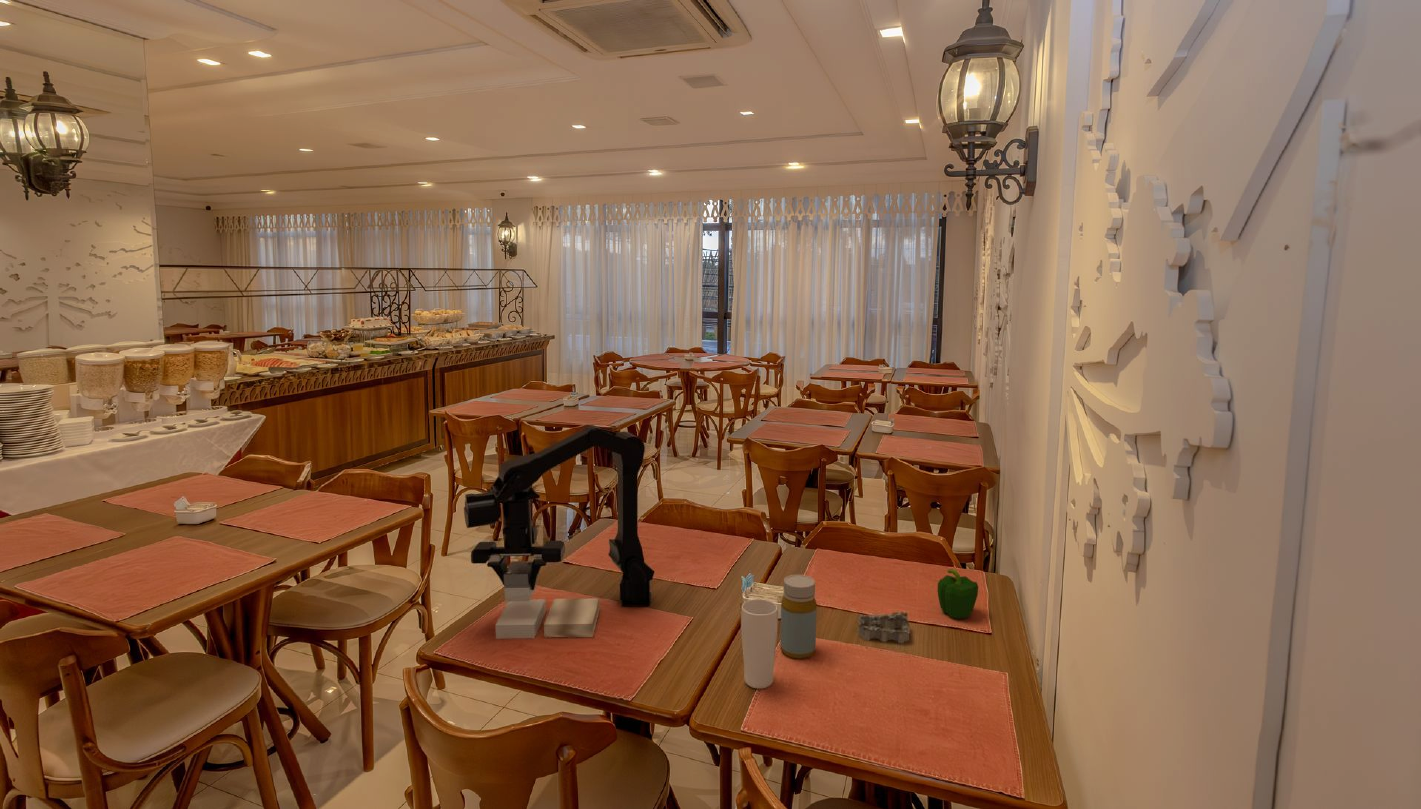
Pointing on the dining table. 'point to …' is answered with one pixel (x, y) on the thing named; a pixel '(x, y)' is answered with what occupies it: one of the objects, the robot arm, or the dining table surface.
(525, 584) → the housing
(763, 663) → the drinking glass
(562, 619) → the stand
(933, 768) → the dining table surface
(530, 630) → the stand
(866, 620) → the egg carton
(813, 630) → the bottle
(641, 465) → the robot arm
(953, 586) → the bell pepper
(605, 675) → the dining table surface
